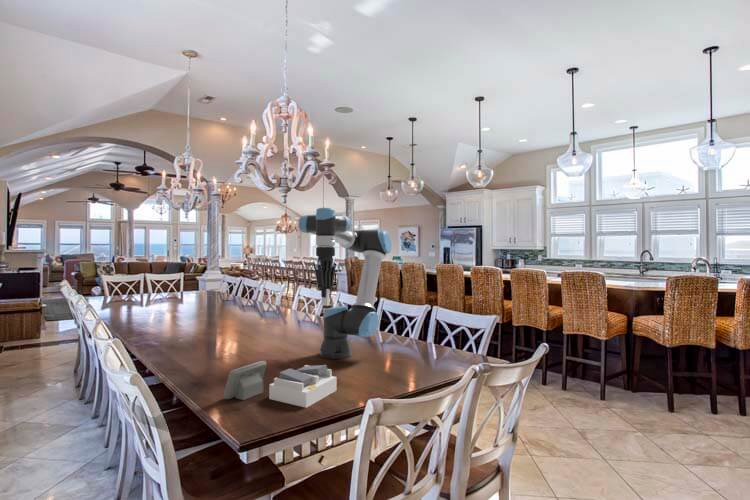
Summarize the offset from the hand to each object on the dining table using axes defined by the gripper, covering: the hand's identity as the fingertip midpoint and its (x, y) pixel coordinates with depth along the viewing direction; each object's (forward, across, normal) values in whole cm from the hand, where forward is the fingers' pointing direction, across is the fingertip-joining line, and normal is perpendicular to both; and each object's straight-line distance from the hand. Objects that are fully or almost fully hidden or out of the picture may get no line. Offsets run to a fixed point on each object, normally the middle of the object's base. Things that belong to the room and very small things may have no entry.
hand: (325, 305), depth 163 cm
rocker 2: (+23, -15, -4) cm, 27 cm away
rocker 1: (+23, -24, -4) cm, 33 cm away
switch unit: (+29, -19, -4) cm, 35 cm away
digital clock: (+29, -28, +15) cm, 44 cm away
